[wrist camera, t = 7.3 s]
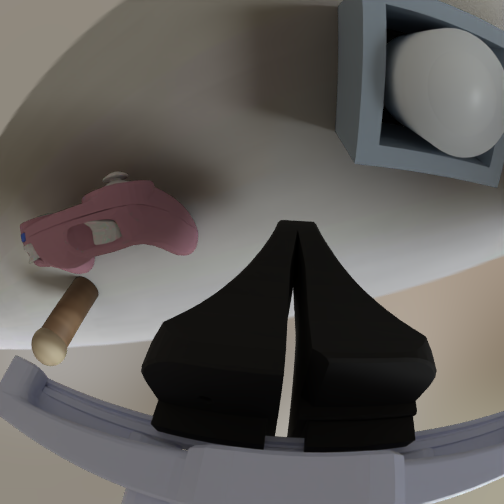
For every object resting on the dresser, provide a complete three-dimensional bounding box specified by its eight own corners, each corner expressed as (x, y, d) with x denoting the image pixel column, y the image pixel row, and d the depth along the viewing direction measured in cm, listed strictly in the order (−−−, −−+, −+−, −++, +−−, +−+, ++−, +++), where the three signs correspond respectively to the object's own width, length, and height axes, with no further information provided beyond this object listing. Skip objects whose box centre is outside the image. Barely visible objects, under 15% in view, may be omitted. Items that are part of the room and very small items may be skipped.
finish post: (93, 276, 20) (43, 354, 14) (105, 302, 21) (63, 378, 15) (68, 273, 20) (18, 344, 14) (80, 297, 22) (38, 367, 16)
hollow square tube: (459, 37, 8) (517, 39, 4) (448, 149, 11) (497, 187, 8) (337, 6, 8) (361, -21, 5) (335, 131, 12) (354, 163, 8)
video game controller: (193, 168, 16) (111, 154, 9) (209, 248, 16) (136, 283, 9) (76, 208, 18) (-2, 218, 11) (89, 270, 19) (14, 297, 12)
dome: (461, 49, 7) (523, 56, 4) (453, 137, 9) (506, 174, 6) (372, 24, 7) (413, 7, 4) (368, 120, 10) (404, 150, 6)
